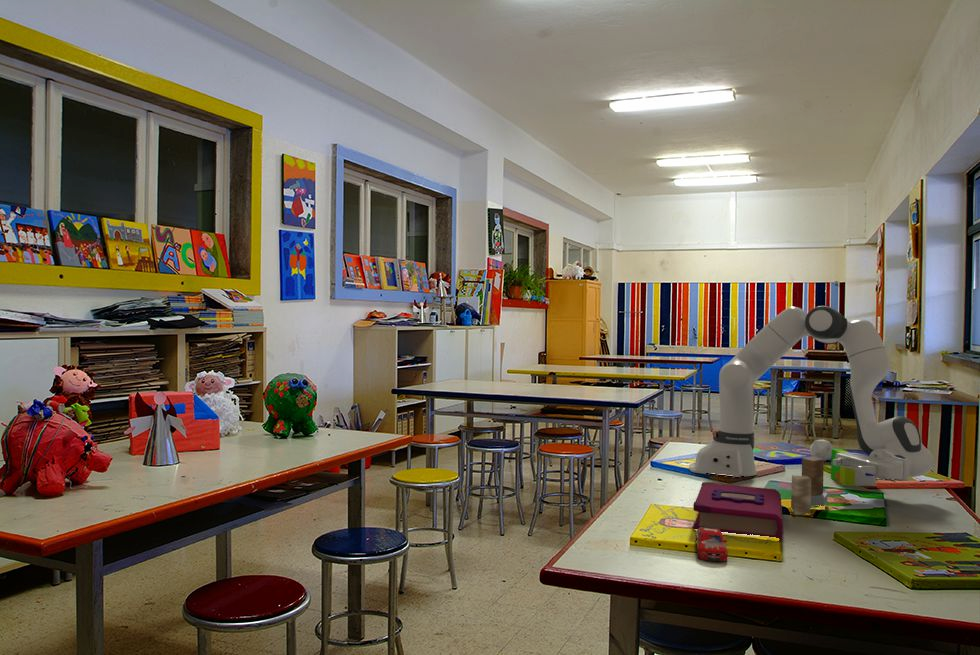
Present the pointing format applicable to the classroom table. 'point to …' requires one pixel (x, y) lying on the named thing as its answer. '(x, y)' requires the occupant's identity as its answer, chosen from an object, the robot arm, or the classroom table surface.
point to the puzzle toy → (850, 471)
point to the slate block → (819, 499)
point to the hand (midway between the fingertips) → (846, 466)
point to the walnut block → (814, 473)
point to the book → (739, 509)
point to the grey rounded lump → (821, 449)
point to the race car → (711, 544)
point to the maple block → (801, 494)
